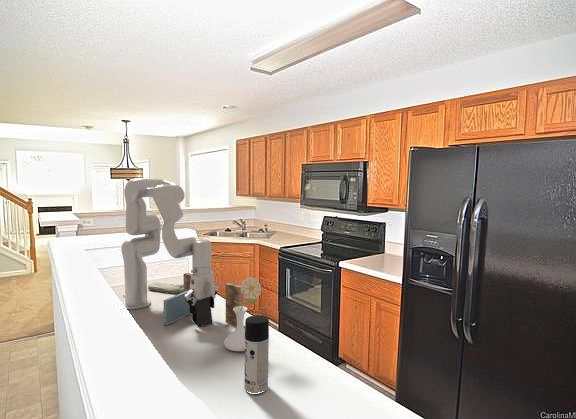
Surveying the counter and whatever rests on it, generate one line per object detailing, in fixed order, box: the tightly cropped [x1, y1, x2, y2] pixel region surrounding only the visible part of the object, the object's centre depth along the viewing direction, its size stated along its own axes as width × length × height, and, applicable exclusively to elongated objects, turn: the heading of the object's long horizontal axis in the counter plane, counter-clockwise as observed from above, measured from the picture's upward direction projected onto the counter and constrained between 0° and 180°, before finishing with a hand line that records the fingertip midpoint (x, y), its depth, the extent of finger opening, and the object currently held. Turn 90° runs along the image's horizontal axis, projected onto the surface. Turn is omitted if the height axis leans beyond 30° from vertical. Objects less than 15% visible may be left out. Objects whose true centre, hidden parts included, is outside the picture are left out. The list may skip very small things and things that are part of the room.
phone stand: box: [191, 297, 213, 328], centre depth 142 cm, size 9×6×12 cm, turn 31°
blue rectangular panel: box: [163, 290, 194, 326], centre depth 146 cm, size 20×2×10 cm, turn 155°
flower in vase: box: [223, 276, 262, 352], centre depth 120 cm, size 13×11×25 cm
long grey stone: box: [147, 282, 184, 295], centre depth 182 cm, size 35×5×10 cm
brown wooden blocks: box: [183, 272, 244, 326], centre depth 148 cm, size 35×2×16 cm, turn 55°
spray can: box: [243, 315, 270, 393], centre depth 96 cm, size 7×7×20 cm
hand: (202, 310), depth 142 cm, fingers open, 9 cm apart
